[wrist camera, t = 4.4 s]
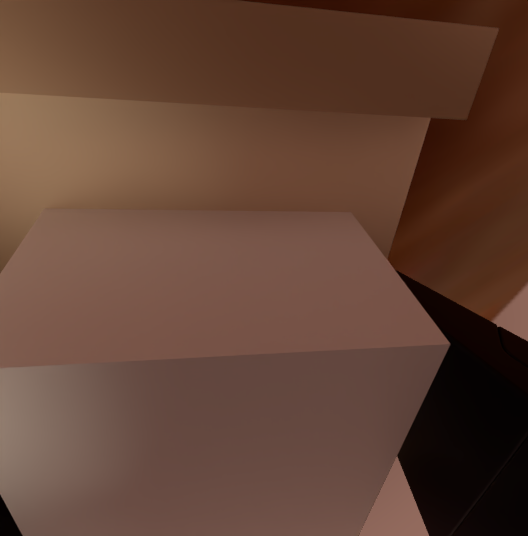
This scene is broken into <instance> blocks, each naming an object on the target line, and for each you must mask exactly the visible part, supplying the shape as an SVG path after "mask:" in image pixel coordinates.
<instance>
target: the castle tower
mask: <svg viewBox="0 0 528 536" xmlns="http://www.w3.org/2000/svg"><path fill="white" fill-rule="evenodd" d="M498 30H499V28H494V27H484V26H475V25H466V24H456V23H447V22H437V21H428V20H419V19H409V18H400V17H390V16H381V15H372V14H362V13H353V12H343V11H334V10H325V9H315V8H306V7H296V6H287V5H278V4H268V3H259V2H250V1H240V0H0V273H1V272H2V270H3V269H4V267H5V266H6V264H7V263H8V261H9V260H10V259H11V257H12V256H13V254H14V253H15V251H16V250H17V248H18V247H19V245H20V244H21V242H22V241H23V239H24V238H25V236H26V235H27V233H28V232H29V230H30V229H31V227H32V226H33V225H34V223H35V222H36V220H37V219H38V217H39V216H40V214H41V213H42V211H43V210H44V208H54V209H139V210H223V211H307V212H351V213H352V214H353V215H354V216H355V218H356V219H357V220H358V222H359V223H360V224H361V226H362V227H363V228H364V230H365V231H366V232H367V234H368V235H369V236H370V238H371V239H372V240H373V242H374V243H375V244H376V246H377V247H378V248H379V250H380V251H381V252H382V254H383V255H384V256H385V258H386V259H387V258H388V255H389V252H390V249H391V246H392V242H393V239H394V236H395V233H396V229H397V226H398V223H399V220H400V216H401V213H402V210H403V207H404V203H405V200H406V197H407V194H408V190H409V187H410V184H411V181H412V177H413V174H414V171H415V168H416V164H417V161H418V158H419V155H420V151H421V148H422V145H423V142H424V138H425V135H426V132H427V129H428V125H429V122H430V119H431V118H441V119H458V120H467V117H468V114H469V112H470V109H471V106H472V103H473V100H474V98H475V95H476V92H477V89H478V86H479V84H480V81H481V78H482V75H483V72H484V70H485V67H486V64H487V61H488V58H489V56H490V53H491V50H492V47H493V44H494V42H495V39H496V36H497V33H498Z"/></svg>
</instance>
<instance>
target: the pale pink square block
mask: <svg viewBox="0 0 528 536" xmlns="http://www.w3.org/2000/svg"><path fill="white" fill-rule="evenodd" d="M449 346H450V343H449V341H448V340H447V339H446V337H445V336H444V335H443V333H442V332H441V331H440V329H439V328H438V327H437V325H436V324H435V323H434V321H433V320H432V319H431V317H430V316H429V315H428V313H427V312H426V311H425V309H424V308H423V307H422V306H421V304H420V303H419V302H418V300H417V299H416V298H415V296H414V295H413V294H412V292H411V291H410V290H409V288H408V287H407V286H406V284H405V283H404V282H403V280H402V279H401V278H400V276H399V275H398V274H397V272H396V271H395V270H394V268H393V267H392V266H391V264H390V263H389V262H388V260H387V259H386V258H385V256H384V255H383V254H382V252H381V251H380V250H379V248H378V247H377V246H376V244H375V243H374V242H373V240H372V239H371V238H370V236H369V235H368V234H367V232H366V231H365V230H364V228H363V227H362V226H361V224H360V223H359V222H358V220H357V219H356V218H355V216H354V215H353V214H352V213H351V212H307V211H223V210H139V209H54V208H44V210H43V211H42V213H41V214H40V216H39V217H38V219H37V220H36V222H35V223H34V225H33V226H32V227H31V229H30V230H29V232H28V233H27V235H26V236H25V238H24V239H23V241H22V242H21V244H20V245H19V247H18V248H17V250H16V251H15V253H14V254H13V256H12V257H11V259H10V260H9V261H8V263H7V264H6V266H5V267H4V269H3V270H2V272H1V273H0V495H1V497H2V498H3V500H4V502H5V504H6V506H7V508H8V510H9V511H10V513H11V515H12V517H13V519H14V521H15V523H16V524H17V526H18V528H19V530H20V532H21V534H22V535H23V536H359V534H360V532H361V530H362V528H363V526H364V523H365V521H366V519H367V517H368V515H369V513H370V511H371V509H372V507H373V505H374V502H375V500H376V498H377V496H378V494H379V492H380V490H381V488H382V486H383V484H384V482H385V480H386V478H387V475H388V473H389V471H390V469H391V467H392V465H393V463H394V461H395V458H396V457H397V455H398V453H399V450H400V448H401V446H402V444H403V442H404V440H405V438H406V436H407V434H408V432H409V430H410V428H411V425H412V423H413V421H414V419H415V417H416V415H417V413H418V411H419V409H420V407H421V405H422V403H423V400H424V398H425V396H426V394H427V392H428V390H429V388H430V386H431V384H432V382H433V380H434V377H435V375H436V373H437V371H438V369H439V367H440V365H441V363H442V361H443V359H444V357H445V355H446V352H447V350H448V348H449Z"/></svg>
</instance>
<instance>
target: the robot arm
mask: <svg viewBox="0 0 528 536" xmlns="http://www.w3.org/2000/svg"><path fill="white" fill-rule="evenodd" d="M394 270H395V269H394ZM395 271H396V272H397V274H398V275H399V276H400V278H401V279H402V280H403V282H404V283H405V284H406V286H407V287H408V288H409V290H410V291H411V292H412V294H413V295H414V296H415V298H416V299H417V300H418V302H419V303H420V304H421V306H422V307H423V308H424V309H425V311H426V312H427V313H428V315H429V316H430V317H431V319H432V320H433V321H434V323H435V324H436V325H437V327H438V328H439V329H440V331H441V332H442V333H443V335H444V336H445V337H446V339H447V340H448V341H449V343H450V346H449V348H448V350H447V352H446V355H445V357H444V359H443V361H442V363H441V365H440V367H439V369H438V371H437V373H436V375H435V377H434V380H433V382H432V384H431V386H430V388H429V390H428V392H427V394H426V396H425V398H424V400H423V403H422V405H421V407H420V409H419V411H418V413H417V415H416V417H415V419H414V421H413V423H412V425H411V428H410V430H409V432H408V434H407V436H406V438H405V440H404V442H403V444H402V446H401V448H400V450H399V453H398V455H397V456H398V459H399V461H400V464H401V466H402V469H403V471H404V474H405V476H406V479H407V481H408V484H409V486H410V489H411V491H412V494H413V496H414V499H415V501H416V504H417V506H418V509H419V511H420V514H421V516H422V519H423V521H424V524H425V526H426V529H427V531H428V534H429V536H528V341H526V340H524V339H522V338H520V337H518V336H517V335H515V334H513V333H511V332H509V331H507V330H506V329H504V328H502V327H498V328H497V325H496V324H494V323H493V322H491V321H489V320H487V319H485V318H483V317H481V316H480V315H478V314H476V313H474V312H472V311H470V310H469V309H467V308H465V307H463V306H461V305H459V304H457V303H456V302H454V301H452V300H450V299H448V298H446V297H445V296H443V295H441V294H439V293H437V292H435V291H433V290H432V289H430V288H428V287H426V286H424V285H422V284H421V283H419V282H417V281H415V280H413V279H411V278H409V277H408V276H406V275H404V274H402V273H400V272H398V271H397V270H395ZM0 536H23V535H22V534H21V532H20V530H19V528H18V526H17V524H16V523H15V521H14V519H13V517H12V515H11V513H10V511H9V510H8V508H7V506H6V504H5V502H4V500H3V498H2V497H1V495H0Z"/></svg>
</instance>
